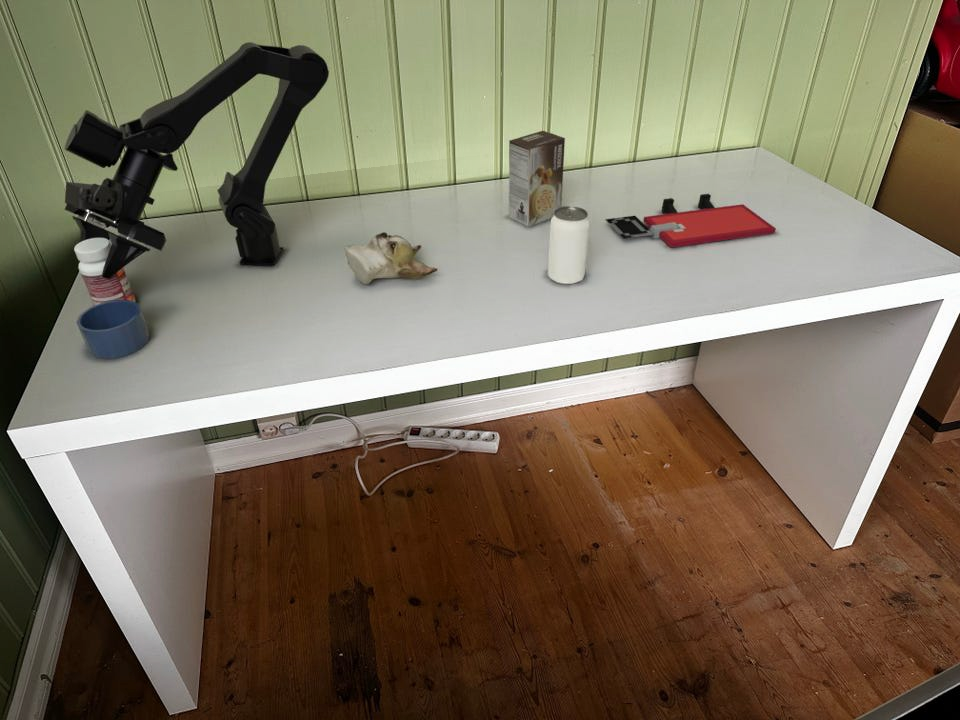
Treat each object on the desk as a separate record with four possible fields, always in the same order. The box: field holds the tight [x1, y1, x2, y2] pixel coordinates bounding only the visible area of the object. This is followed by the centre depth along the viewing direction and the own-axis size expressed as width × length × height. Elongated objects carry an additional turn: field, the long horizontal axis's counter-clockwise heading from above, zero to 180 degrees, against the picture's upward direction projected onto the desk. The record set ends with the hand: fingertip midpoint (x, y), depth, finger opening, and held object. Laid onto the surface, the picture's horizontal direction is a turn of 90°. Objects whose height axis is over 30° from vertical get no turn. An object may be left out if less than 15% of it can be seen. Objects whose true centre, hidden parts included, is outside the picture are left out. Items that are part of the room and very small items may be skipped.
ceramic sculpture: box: [344, 231, 438, 285], centre depth 119 cm, size 11×9×15 cm
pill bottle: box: [73, 238, 136, 306], centre depth 111 cm, size 6×6×11 cm
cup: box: [76, 300, 150, 360], centre depth 104 cm, size 9×9×5 cm
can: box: [547, 205, 590, 286], centre depth 117 cm, size 6×6×12 cm
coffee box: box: [508, 130, 566, 228], centre depth 135 cm, size 9×6×16 cm
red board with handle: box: [604, 193, 777, 248], centre depth 135 cm, size 30×3×15 cm
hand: (93, 272), depth 109 cm, fingers closed on pill bottle, 6 cm apart
